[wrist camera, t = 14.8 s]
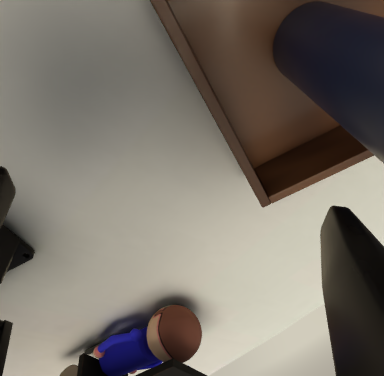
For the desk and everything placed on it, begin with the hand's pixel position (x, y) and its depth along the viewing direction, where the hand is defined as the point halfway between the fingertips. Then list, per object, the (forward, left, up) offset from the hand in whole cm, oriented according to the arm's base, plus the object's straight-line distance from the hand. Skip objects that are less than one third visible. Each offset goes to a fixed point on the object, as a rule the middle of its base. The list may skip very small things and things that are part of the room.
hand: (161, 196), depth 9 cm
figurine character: (-16, -21, -13) cm, 29 cm away
